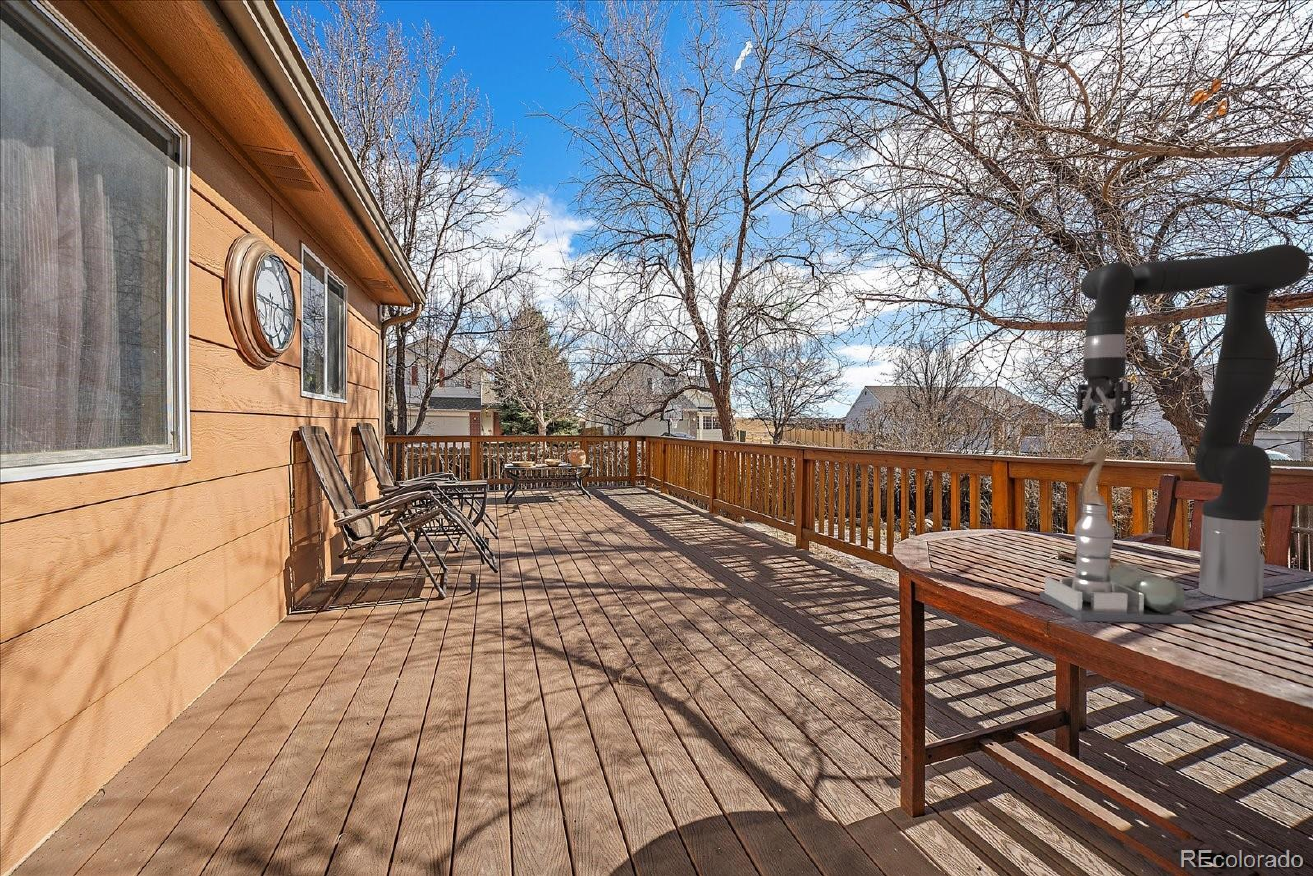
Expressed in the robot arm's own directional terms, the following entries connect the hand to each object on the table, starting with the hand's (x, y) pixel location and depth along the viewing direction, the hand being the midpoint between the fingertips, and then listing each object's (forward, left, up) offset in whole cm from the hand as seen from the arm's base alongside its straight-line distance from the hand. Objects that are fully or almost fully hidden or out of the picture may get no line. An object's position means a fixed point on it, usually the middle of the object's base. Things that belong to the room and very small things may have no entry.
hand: (1101, 429), depth 132 cm
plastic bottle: (+10, +14, -35) cm, 39 cm away
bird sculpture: (-12, -21, -36) cm, 44 cm away
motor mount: (+6, +14, -36) cm, 39 cm away
